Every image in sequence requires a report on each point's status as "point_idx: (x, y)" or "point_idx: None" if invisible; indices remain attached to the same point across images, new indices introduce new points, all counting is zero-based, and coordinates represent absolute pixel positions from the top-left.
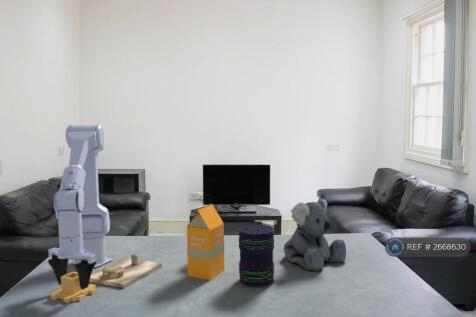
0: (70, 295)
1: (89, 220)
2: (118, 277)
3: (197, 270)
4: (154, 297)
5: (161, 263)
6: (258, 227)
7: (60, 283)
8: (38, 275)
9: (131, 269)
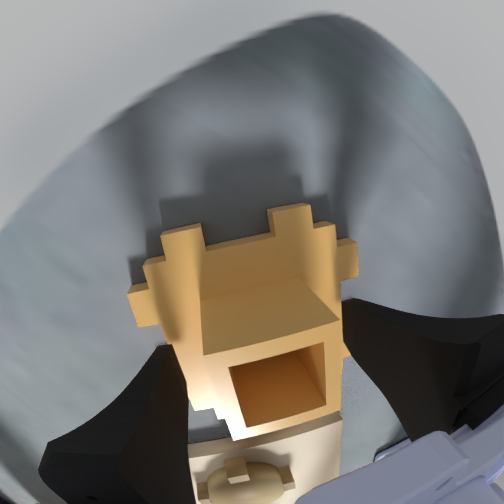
0: (199, 277)
1: None
2: (206, 481)
3: None
4: (4, 429)
5: None
6: None
7: (345, 305)
8: (492, 308)
9: None
